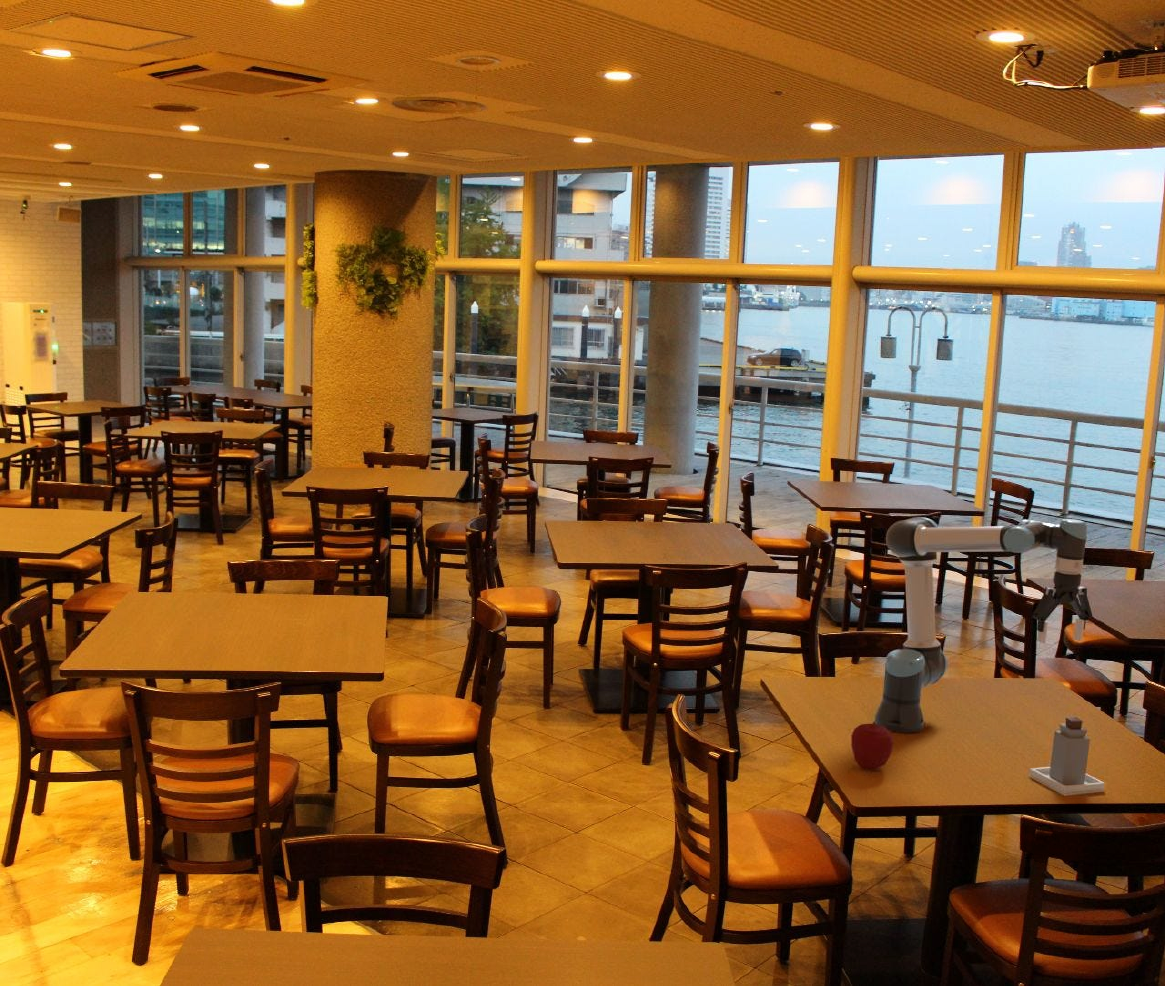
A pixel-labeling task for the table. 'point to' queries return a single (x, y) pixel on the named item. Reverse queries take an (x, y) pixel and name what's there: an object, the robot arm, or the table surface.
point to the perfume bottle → (1070, 753)
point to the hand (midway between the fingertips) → (1059, 641)
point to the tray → (1088, 786)
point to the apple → (871, 745)
